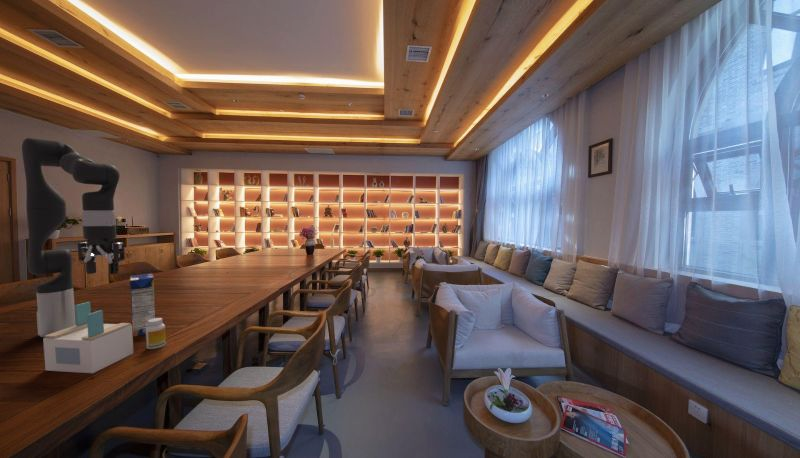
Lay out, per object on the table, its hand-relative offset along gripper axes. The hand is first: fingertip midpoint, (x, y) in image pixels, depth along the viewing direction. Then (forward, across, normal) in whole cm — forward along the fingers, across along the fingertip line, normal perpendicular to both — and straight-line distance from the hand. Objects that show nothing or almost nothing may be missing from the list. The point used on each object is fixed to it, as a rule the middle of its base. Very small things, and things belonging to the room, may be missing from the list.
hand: (102, 273), depth 94 cm
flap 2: (+18, +6, -4) cm, 19 cm away
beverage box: (+28, -7, +20) cm, 35 cm away
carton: (+28, -1, -4) cm, 28 cm away
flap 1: (+18, -7, -4) cm, 19 cm away
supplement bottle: (+28, +10, +8) cm, 31 cm away
